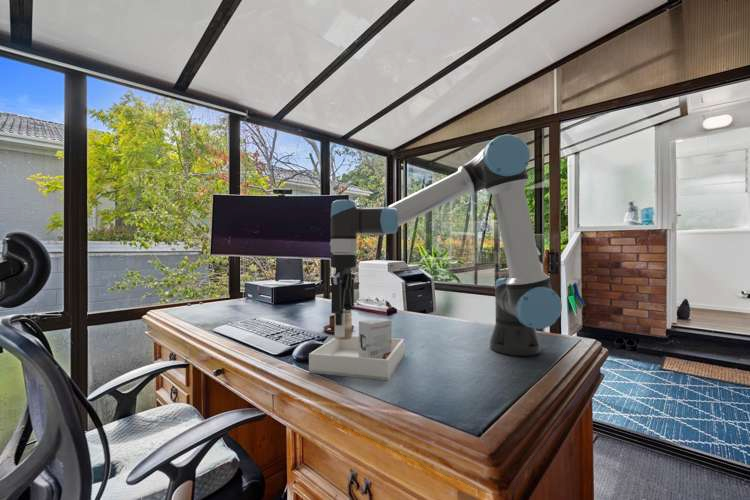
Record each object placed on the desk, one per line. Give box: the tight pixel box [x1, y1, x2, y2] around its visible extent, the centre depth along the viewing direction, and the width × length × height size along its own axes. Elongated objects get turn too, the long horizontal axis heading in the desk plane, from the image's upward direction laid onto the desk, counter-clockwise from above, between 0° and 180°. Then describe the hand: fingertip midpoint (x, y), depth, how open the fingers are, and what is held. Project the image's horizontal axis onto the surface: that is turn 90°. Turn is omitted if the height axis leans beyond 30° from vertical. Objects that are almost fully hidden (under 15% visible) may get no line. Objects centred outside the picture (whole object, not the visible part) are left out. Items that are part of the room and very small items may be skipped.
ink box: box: [358, 317, 393, 359], centre depth 100 cm, size 9×5×12 cm, turn 129°
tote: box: [308, 335, 406, 382], centre depth 101 cm, size 22×22×5 cm
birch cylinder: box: [333, 312, 353, 340], centre depth 103 cm, size 5×5×7 cm
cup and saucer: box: [323, 314, 355, 334], centre depth 141 cm, size 12×12×6 cm
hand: (343, 333), depth 103 cm, fingers closed on birch cylinder, 5 cm apart
